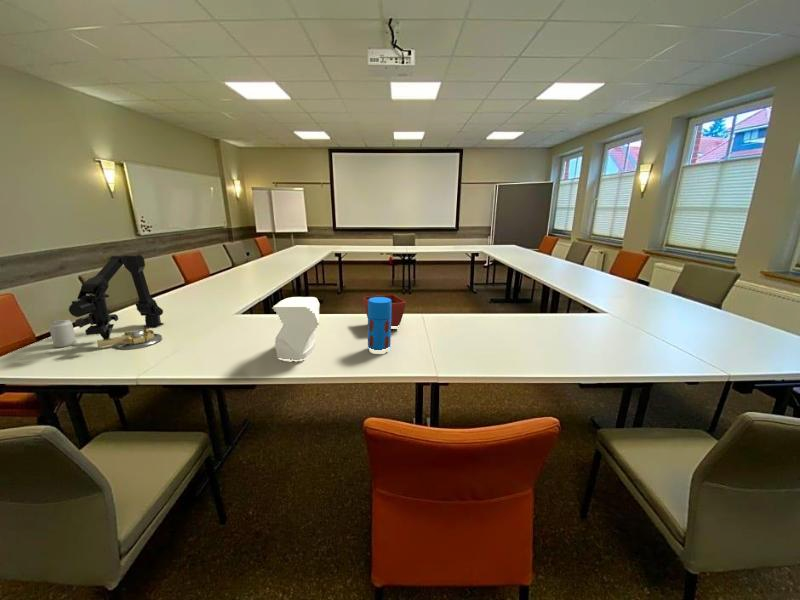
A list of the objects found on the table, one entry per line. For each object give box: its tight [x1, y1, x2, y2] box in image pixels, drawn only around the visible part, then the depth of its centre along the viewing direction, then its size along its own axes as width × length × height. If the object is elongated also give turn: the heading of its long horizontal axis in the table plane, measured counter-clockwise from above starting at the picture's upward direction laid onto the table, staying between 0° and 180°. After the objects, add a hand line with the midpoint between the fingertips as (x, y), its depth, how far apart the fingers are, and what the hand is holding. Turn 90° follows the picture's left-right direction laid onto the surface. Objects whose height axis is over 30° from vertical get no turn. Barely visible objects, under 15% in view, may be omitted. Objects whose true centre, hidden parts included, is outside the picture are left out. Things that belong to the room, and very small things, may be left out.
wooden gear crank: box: [96, 327, 155, 348], centre depth 155 cm, size 20×12×4 cm, turn 131°
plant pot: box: [362, 294, 406, 326], centre depth 187 cm, size 19×19×17 cm
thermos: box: [367, 297, 392, 350], centre depth 155 cm, size 11×11×25 cm
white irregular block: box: [271, 296, 321, 360], centre depth 149 cm, size 21×27×26 cm
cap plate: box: [114, 329, 163, 351], centre depth 158 cm, size 18×18×6 cm
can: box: [48, 318, 77, 348], centre depth 151 cm, size 8×8×12 cm
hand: (106, 341), depth 152 cm, fingers closed
